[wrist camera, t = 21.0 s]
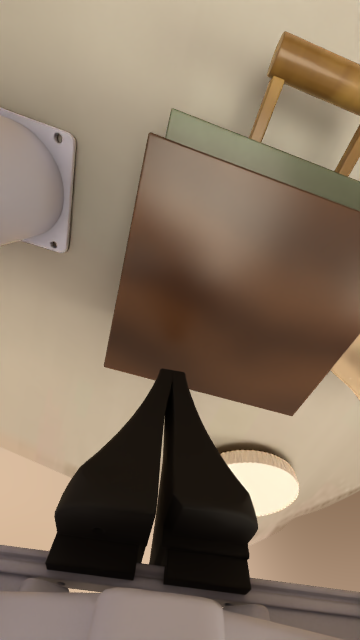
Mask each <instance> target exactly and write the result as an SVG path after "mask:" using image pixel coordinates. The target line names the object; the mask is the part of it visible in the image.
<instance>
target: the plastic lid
mask: <svg viewBox="0 0 360 640" xmlns="http://www.w3.org/2000/svg"><path fill="white" fill-rule="evenodd" d="M220 455H221V456H222V458H223V460H224V461H225V463H226V464H227V465H228V467H229V468H230V469H231V471H232V472H233V474H234V475H235V476H236V478H237V479H238V480H239V481H240V483H241V484H242V485H243V486H244V488H245V489H246V490H247V491H248V492H249V494H250V497H251V500H252V503H253V506H254V510H255V513H256V517H258V516H262V515H264V516H265V515H267V514H268V515H269V514H271V513H274V512H278V511H280V510H281V509H285V507H288V505H290V504H291V503H293V501H295V499H296V498H297V497H298V494H299V491H300V490H299V489H300V488H299V483H298V480H297V478H296V475H295V472H294V470H293V468H292V467H291V465H289V463H287V461H284V459H281V458H280V457H277V456H276V455H273V454H268V453H267V452H266V453H264V452H263V451H261V452H259V451H254V450H251V451H249V450H246V451H244V450H241V451H239V450H236V451H231V452H229V451H227V452H226V453H224V452H223V453H222V454H220Z"/></svg>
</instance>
